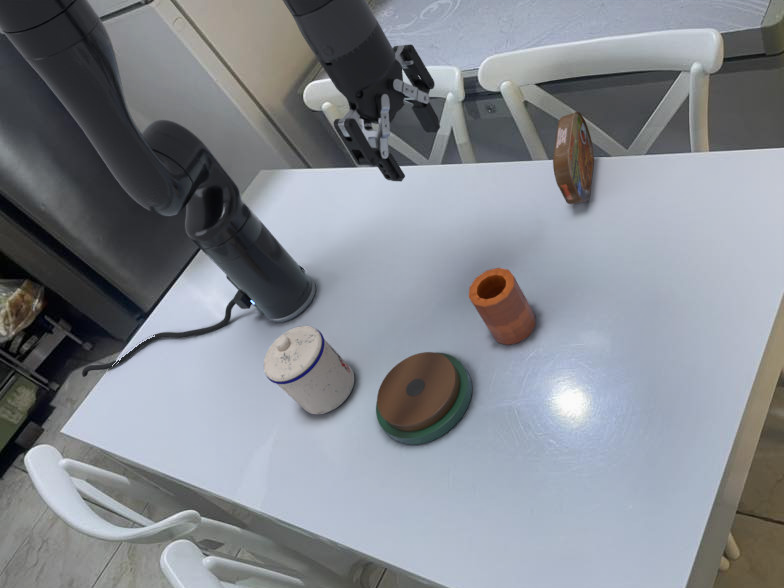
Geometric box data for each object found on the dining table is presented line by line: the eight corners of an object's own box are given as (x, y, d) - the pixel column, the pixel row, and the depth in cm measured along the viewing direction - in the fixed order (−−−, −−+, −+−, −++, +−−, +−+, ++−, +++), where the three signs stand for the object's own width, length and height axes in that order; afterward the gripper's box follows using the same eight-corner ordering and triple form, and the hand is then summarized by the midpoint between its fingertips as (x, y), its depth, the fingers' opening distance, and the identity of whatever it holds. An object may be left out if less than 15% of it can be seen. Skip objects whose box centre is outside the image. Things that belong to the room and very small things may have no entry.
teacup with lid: (368, 370, 98) (322, 318, 89) (332, 424, 95) (281, 376, 86) (312, 353, 105) (264, 304, 96) (277, 403, 101) (224, 357, 93)
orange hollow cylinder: (484, 338, 93) (460, 300, 87) (507, 304, 95) (484, 264, 89) (521, 349, 89) (498, 310, 83) (543, 313, 91) (522, 272, 85)
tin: (588, 213, 99) (570, 168, 93) (566, 217, 100) (548, 172, 94) (595, 144, 107) (580, 98, 101) (575, 149, 108) (559, 103, 102)
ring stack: (366, 440, 90) (354, 428, 88) (402, 357, 97) (391, 344, 95) (453, 449, 84) (442, 436, 82) (484, 360, 91) (475, 346, 88)
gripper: (356, -3, 79) (422, 115, 90) (283, 80, 74) (364, 194, 85) (404, -11, 74) (467, 114, 86) (330, 77, 69) (409, 198, 81)
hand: (416, 154), depth 86 cm, fingers open, 8 cm apart
